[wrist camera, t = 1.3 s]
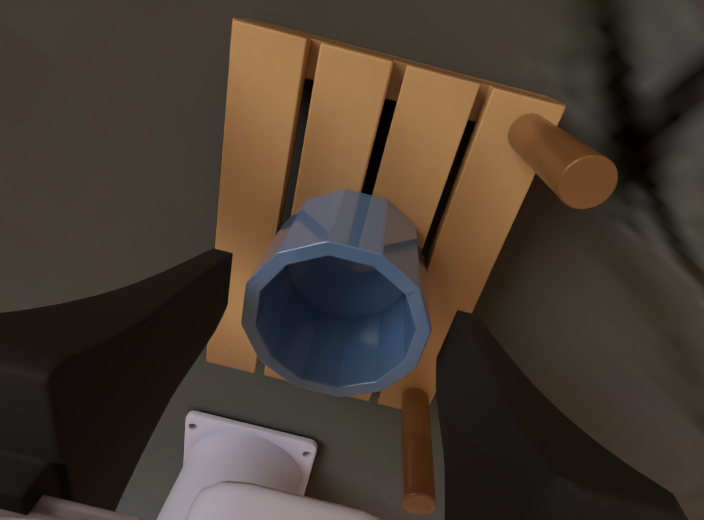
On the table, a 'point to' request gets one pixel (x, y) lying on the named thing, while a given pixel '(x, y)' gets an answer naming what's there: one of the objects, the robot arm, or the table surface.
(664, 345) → the table surface
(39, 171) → the table surface
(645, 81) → the table surface
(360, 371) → the blue faceted cup
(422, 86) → the rack
